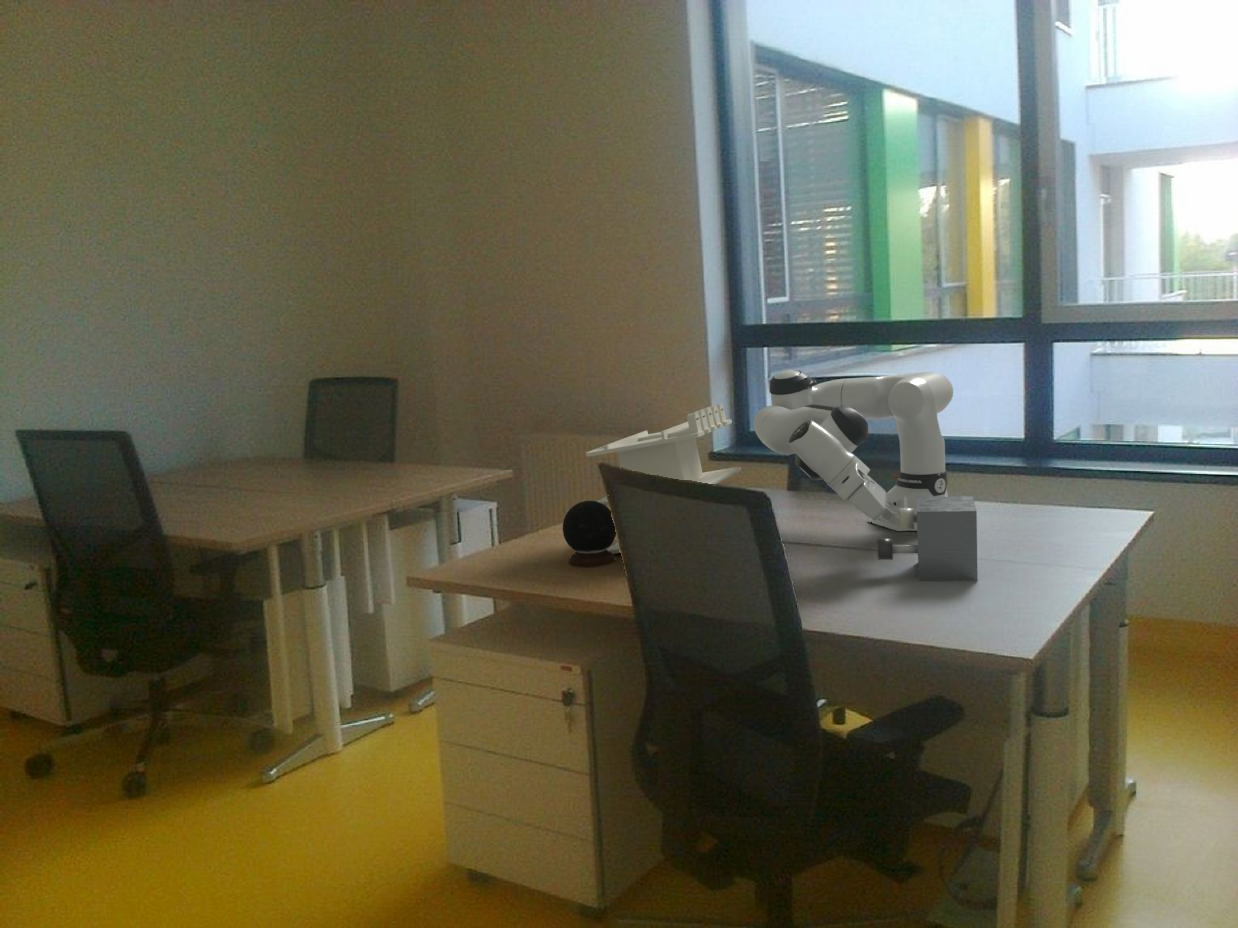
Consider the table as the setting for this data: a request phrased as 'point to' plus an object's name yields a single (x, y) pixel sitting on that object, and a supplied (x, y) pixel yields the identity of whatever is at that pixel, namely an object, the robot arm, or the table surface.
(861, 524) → the table surface
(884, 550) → the charcoal knob
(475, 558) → the table surface
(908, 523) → the ivory knob
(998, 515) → the table surface
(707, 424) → the white spaceship model
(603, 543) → the black crystal ball
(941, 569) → the control box
